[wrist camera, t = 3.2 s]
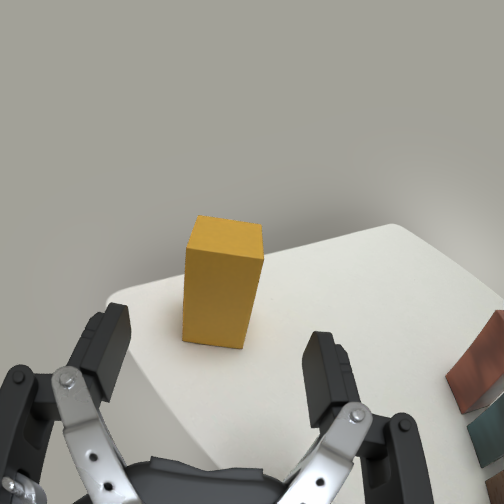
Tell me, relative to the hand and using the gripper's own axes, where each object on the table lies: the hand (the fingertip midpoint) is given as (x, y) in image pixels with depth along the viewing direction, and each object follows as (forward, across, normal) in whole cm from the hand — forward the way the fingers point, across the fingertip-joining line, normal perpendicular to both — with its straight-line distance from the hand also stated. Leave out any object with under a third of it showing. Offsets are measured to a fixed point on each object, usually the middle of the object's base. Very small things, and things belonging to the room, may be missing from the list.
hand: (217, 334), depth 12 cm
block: (+10, 0, +10) cm, 14 cm away
